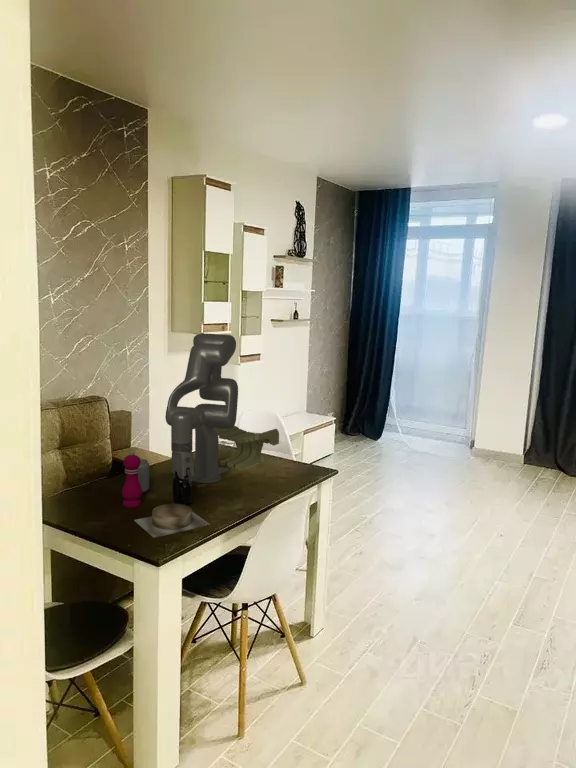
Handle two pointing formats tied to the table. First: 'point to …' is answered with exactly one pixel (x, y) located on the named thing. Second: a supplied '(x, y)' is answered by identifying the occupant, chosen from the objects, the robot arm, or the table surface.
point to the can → (144, 475)
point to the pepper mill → (132, 481)
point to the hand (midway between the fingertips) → (181, 493)
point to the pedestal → (171, 520)
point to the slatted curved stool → (246, 445)
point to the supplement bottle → (179, 491)
